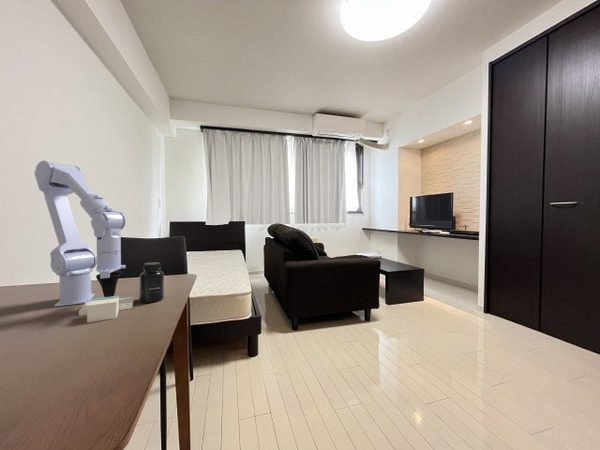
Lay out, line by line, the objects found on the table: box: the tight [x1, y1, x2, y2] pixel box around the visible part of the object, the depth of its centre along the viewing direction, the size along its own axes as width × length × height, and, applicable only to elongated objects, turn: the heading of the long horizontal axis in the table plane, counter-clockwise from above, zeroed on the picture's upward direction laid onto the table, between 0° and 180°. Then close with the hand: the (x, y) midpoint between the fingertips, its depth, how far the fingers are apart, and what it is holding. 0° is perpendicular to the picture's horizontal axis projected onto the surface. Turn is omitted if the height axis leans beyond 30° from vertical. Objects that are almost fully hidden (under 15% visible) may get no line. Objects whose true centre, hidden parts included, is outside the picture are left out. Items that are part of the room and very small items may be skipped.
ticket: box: [78, 296, 135, 316], centre depth 75 cm, size 8×12×1 cm, turn 119°
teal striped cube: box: [86, 295, 120, 323], centre depth 68 cm, size 6×6×5 cm
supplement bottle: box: [138, 261, 165, 304], centre depth 82 cm, size 7×7×12 cm
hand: (109, 297), depth 76 cm, fingers closed
